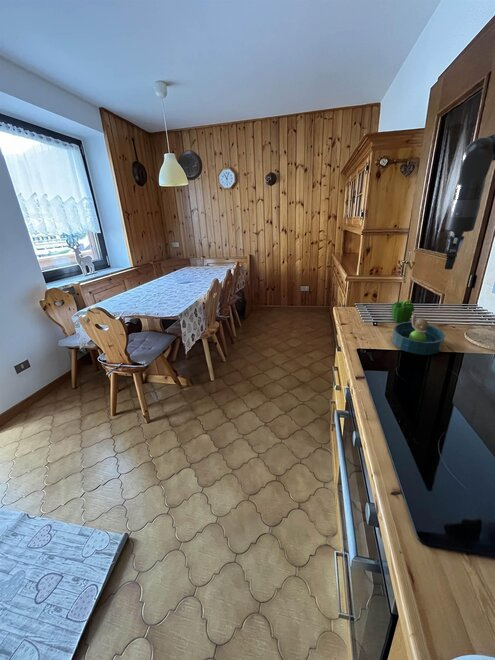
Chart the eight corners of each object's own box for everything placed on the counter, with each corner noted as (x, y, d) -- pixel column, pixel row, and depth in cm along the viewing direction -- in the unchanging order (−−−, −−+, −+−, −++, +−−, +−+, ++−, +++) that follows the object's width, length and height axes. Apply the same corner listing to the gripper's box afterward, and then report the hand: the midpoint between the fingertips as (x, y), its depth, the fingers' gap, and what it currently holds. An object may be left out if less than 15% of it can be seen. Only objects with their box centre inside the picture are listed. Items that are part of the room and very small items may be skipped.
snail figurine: (410, 337, 109) (417, 309, 103) (427, 344, 104) (435, 315, 98) (402, 342, 107) (408, 313, 101) (418, 349, 102) (426, 319, 96)
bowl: (443, 340, 107) (447, 328, 104) (437, 361, 96) (441, 347, 93) (397, 330, 116) (399, 318, 113) (386, 348, 105) (389, 335, 102)
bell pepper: (385, 321, 124) (389, 299, 119) (395, 315, 128) (399, 294, 124) (405, 327, 118) (410, 305, 113) (414, 321, 122) (419, 299, 118)
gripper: (477, 217, 81) (461, 272, 88) (478, 211, 91) (464, 262, 98) (446, 217, 85) (433, 270, 92) (450, 212, 95) (438, 260, 102)
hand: (449, 265), depth 95 cm, fingers open, 8 cm apart
